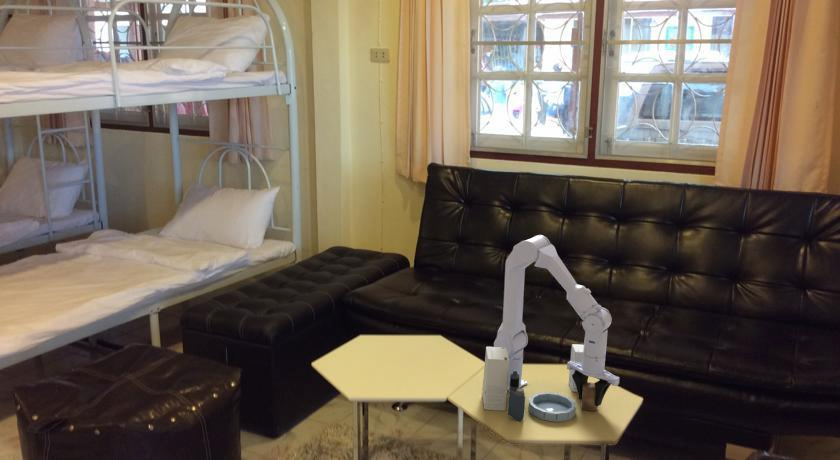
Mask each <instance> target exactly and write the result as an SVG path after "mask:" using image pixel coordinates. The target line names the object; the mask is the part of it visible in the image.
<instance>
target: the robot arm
mask: <svg viewBox="0 0 840 460" xmlns="http://www.w3.org/2000/svg"><path fill="white" fill-rule="evenodd" d="M533 263H535V264H534V265H533V266H534V267H536V268H541V269H546V270H548V272H549V273H550V274H551V276H553V277H554V278H555V280H556V281H557V282H558V284H559V285H561V287H562V288H563V289H564V291H565V292H566V300H567V301H568V303H569V304H570V306H572V308H573V309H574V311H575V312H576V313H577V315H578V316H579V318H581V320H582V321H581V325H582V328H583V330H584V332H585V333H584V338H583V339H584V342H583V345H584V350H583V361H582V363H579V362H574V361H568V362H567V363H566V370H569V371H570V370H571V369H572V370H574V371H575V372H574V374H572V378H573V380H574V382H575V384H576V387H577V391H578V392H577V395H578V400H580V401H582V389H583V384H584V383H587V380H588V381H589V377H590V378H594V379H597V381H596V382H594V383H595V384H594V385H595V391H596V397H595V406H598V407H600V406H601V405H602V403H603V399H604V398H605V395H606V392H607V391H608V390H609V388H610V387H611V386H614V387H616V386H618V385H619V384H620V376H617V375H614V374H613V373H611V372H610V371H608V370H606V369H605V365H606V363H605V362H606V357H607V356H606V355H607V354H606V353H607V344H608V332H609V331H608V330H609V329H608V328H609V327H610V326H611V324H612V321H613V319H612V315H611V313H610V311H609V309H607V308H606V307H602V305H601V304H599V303H598V302H597V301H596V299H595V298H594V297H593V295H592V294H591V293H592V291H591V289H589V288H586V286H585V285H581V284H578V283H577V281H576V279H574V277H573V276H572V274H571V272H570V271H569V270H568V268H567V267H566V265H565V263H563V260H562V259H561V258H560V256H559V255H558V252H557V250H556V247H555V245H553V244H552V243H551V242H550V240H549V239H548V237H546V236H544V235H542V234H538V235H534V236H533V237H531V238H528V239H526V240H521V241H520V242H519V243H517V244H515V245H514V246H513V248H512V251H511V252H510V253H509V255H508V257H507V258H506V260H505V266H504V267H505V269H504V270H505V271H504V290H503V311H502V322H501V325H500V326H499V328H498V330H497V334H496V338H495V340H494V342H493V347H502V348H507V352H508V357H509V360H510V362H509V374H508V385H507V391H509V388H510V380H511V378H510V375H511V374H513V371H517V374H519V388H523V387H524V386H525V385H528V383H529V382H528V381H527V380H524V379H522V378H523V377H522V375H523V362H524V361H523V360H524V348H526V347H527V345H528V342H529V338H528V334H527V332H526V324H524V322H523V315H524V314H523V312H524V295H525V294H524V292H525V276H526V275H525V274H526V268H527V267H529V266H530V265H532V264H533Z"/></svg>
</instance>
